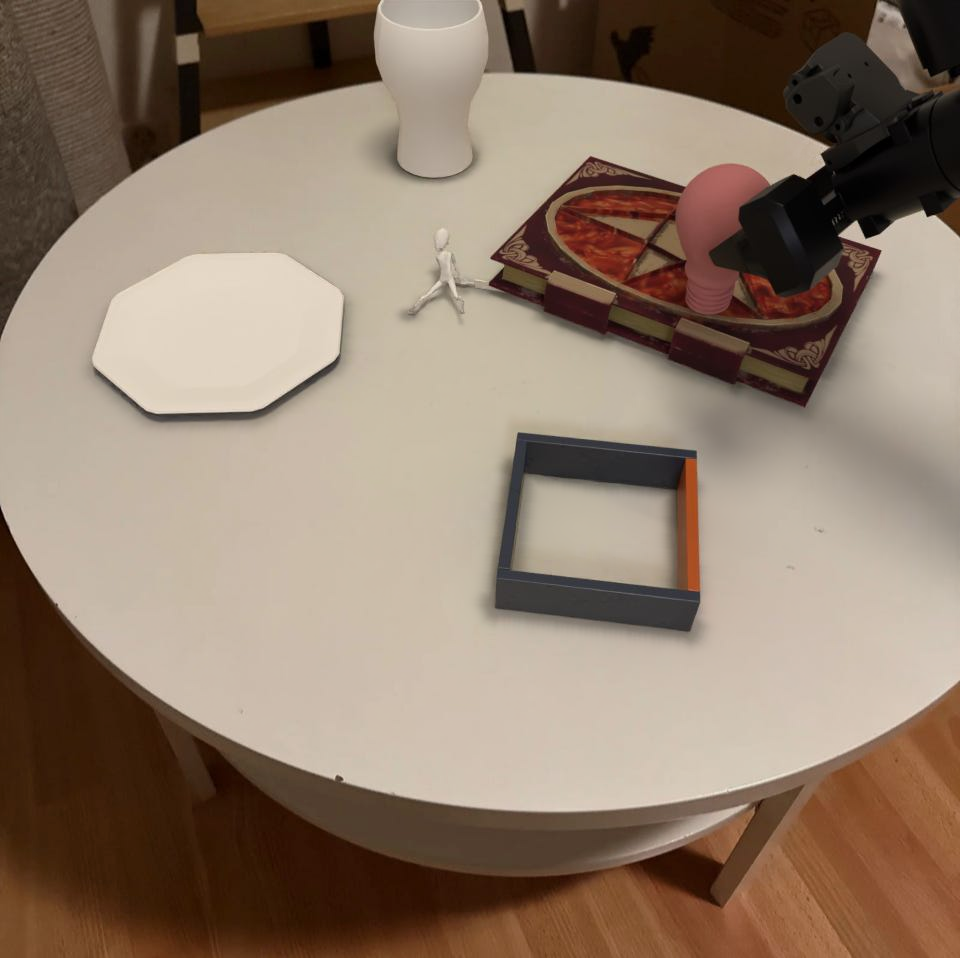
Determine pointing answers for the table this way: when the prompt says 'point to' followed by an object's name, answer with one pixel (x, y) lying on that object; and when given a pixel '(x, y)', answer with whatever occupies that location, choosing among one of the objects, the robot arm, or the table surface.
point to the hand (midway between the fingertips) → (749, 230)
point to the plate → (220, 334)
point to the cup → (432, 78)
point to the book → (672, 284)
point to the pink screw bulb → (712, 230)
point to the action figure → (449, 270)
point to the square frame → (597, 595)
